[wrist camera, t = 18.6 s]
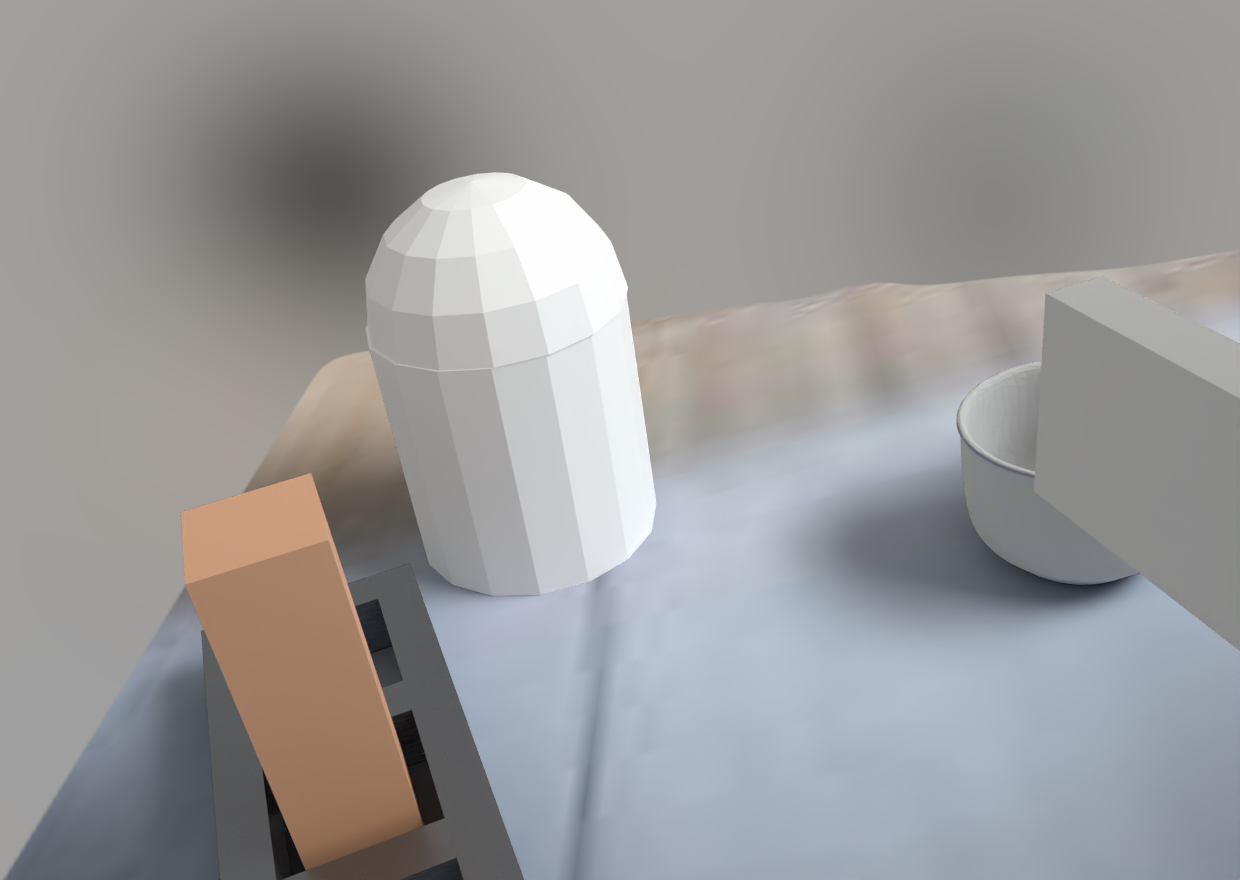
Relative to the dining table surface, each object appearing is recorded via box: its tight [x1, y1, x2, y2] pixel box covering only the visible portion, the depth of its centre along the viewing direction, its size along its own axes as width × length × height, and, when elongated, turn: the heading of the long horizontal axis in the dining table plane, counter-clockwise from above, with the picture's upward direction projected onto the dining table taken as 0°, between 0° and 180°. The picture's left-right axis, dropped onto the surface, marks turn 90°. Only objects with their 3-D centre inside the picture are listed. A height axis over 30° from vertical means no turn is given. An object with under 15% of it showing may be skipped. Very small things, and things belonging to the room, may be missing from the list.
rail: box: [201, 564, 524, 880], centre depth 46 cm, size 10×27×3 cm, turn 21°
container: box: [365, 173, 656, 596], centre depth 60 cm, size 14×13×20 cm
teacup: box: [957, 361, 1139, 585], centre depth 56 cm, size 14×11×8 cm
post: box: [181, 473, 425, 870], centre depth 43 cm, size 5×5×16 cm
